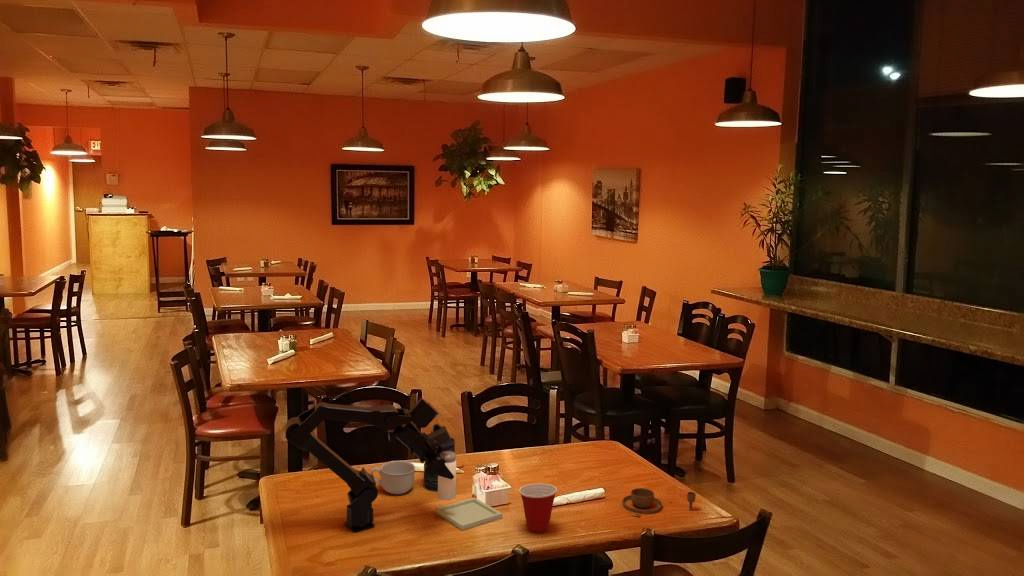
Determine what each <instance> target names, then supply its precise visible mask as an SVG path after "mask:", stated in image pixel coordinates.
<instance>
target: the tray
mask: <svg viewBox="0 0 1024 576" xmlns="http://www.w3.org/2000/svg"><path fill="white" fill-rule="evenodd" d="M435 514H436V515H437V516H439V517H440V518H442V519H443V518H444V520H445V521H447V522H448V523H450V524H451V525H453V526H454V527H456V528H457V527H458V528H457V529H458V530H460V531H462V532H463V531H466V530H469V529H473V528H475V527H479V526H483V525H485V524H489V523H492V522H495V521H499V520H501V519H503V513H502V512H501V511H499V510H497V509H495V508H493V507H492V506H490V505H488V504H487V503H485V502H483V501H481V500H480V499H478V498H477V497H473V498H468V499H464V500H461V501H458V502H454V503H450V504H447V505H443V506H440V507H436V508H435Z"/></svg>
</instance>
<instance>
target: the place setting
mask: <svg viewBox="0 0 1024 576" xmlns="http://www.w3.org/2000/svg"><path fill="white" fill-rule="evenodd" d="M696 494H697V493H695V492H693V491H688V492H687V493H686V501H687V502H688V503H689V504H688V505H689V506H688V508H689V509H688V511H690V512H693V503H694V502H695V501H696ZM628 500H629V501H631V503H632V504H633V505H634V506H635V507H636V508H633V507H632V506H631V507H630V506H629V505H627V504H626V503H627V502H628ZM626 501H627V502H626ZM653 501H654V502H656V503H657V504H658V505H659V506H660V507H659V506H658V505H657V504H656V503H655V504H656V505H657V506H658V507H657V508H654V509H648V508H649V507H650V506H652V505H653V504H654V502H653ZM625 502H626V503H625ZM622 506H623V507H624V508H625V509H626V510H628V511H630V513H631V514H635V515H636V516H633V515H632V517H634V518H640V517H641V514H642V513H650V514H654V512H655V513H658V512H659V511H661V509H662V507H663V503H662V501H661V500H660V499H658V498H657V497H655V492H654V491H652V489H649V488H645V487H644V488H643V487H638V488H634V489H632V490H630V495H627V496H625V497H624V498H622ZM632 511H633V512H632Z"/></svg>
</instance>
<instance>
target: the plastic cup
mask: <svg viewBox="0 0 1024 576" xmlns="http://www.w3.org/2000/svg"><path fill="white" fill-rule="evenodd" d="M557 491H558V488H557V487H556V486H555V485H553V484H550V483H544V482H543V483H541V482H540V483H539V482H538V483H530V484H529V483H528V484H525V485H522V486H521V487H519V490H518V493H519V494H520V496H521V500H522V504H523V511H524V518H525V522H526V527H527V529H526V530H527V531H528V532H530V533H532V532H534V533H533V534H542V533H541V532H544V533H546V532H547V531H548V529H549V524H550V520H551V518H552V516H551V515H552V511H553V505H554V501H555V496H556V494H557ZM546 530H547V531H546ZM545 531H546V532H545Z"/></svg>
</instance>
